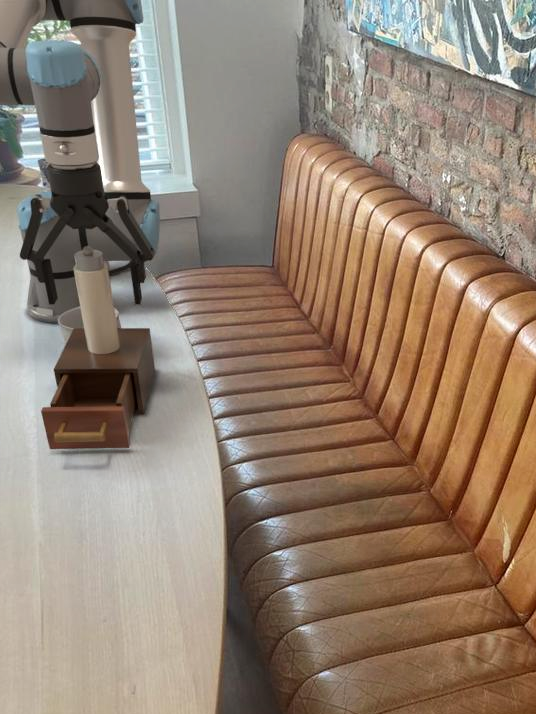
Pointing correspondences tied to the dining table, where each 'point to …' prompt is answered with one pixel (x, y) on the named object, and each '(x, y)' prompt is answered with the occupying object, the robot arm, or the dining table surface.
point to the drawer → (91, 411)
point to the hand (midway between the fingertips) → (96, 301)
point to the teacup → (76, 322)
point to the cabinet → (112, 360)
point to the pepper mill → (96, 301)
